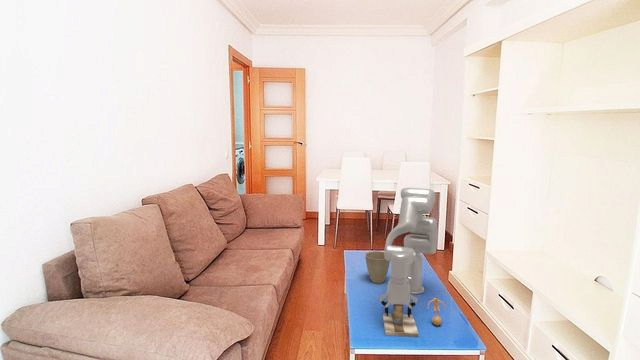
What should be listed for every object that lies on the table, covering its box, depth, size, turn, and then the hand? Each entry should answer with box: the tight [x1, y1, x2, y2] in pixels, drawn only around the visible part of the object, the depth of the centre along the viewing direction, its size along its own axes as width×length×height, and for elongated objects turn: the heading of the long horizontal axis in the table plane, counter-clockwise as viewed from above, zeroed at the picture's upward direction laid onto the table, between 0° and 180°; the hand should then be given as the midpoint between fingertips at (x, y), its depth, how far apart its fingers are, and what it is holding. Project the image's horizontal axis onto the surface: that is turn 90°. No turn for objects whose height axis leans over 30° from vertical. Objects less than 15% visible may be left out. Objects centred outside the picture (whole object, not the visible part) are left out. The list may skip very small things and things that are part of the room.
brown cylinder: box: [392, 304, 404, 325], centre depth 163 cm, size 4×4×9 cm
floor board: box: [382, 313, 420, 338], centre depth 164 cm, size 16×14×2 cm
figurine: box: [427, 297, 446, 326], centre depth 165 cm, size 8×6×12 cm
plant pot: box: [364, 250, 391, 284], centre depth 213 cm, size 15×15×16 cm
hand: (397, 315), depth 163 cm, fingers open, 9 cm apart
